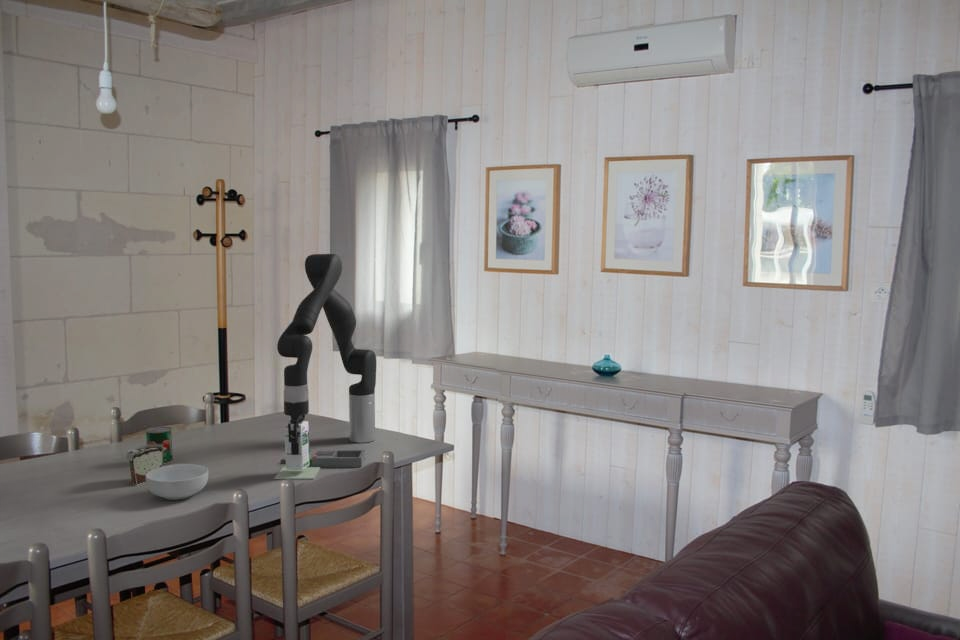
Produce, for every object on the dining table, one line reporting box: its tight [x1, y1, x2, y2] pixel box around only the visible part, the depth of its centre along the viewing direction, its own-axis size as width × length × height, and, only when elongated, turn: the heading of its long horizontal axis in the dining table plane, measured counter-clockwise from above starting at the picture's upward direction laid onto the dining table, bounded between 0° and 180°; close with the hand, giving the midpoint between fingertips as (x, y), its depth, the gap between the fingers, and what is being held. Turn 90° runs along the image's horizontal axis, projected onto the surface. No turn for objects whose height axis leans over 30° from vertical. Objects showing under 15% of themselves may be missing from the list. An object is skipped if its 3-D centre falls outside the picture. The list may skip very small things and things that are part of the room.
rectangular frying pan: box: [279, 449, 366, 468], centre depth 269 cm, size 10×27×3 cm, turn 91°
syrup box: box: [283, 419, 311, 470], centre depth 256 cm, size 6×6×14 cm
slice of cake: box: [125, 444, 165, 486], centre depth 250 cm, size 12×6×10 cm, turn 152°
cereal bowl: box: [145, 463, 209, 501], centre depth 235 cm, size 17×17×7 cm
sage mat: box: [273, 466, 321, 481], centre depth 257 cm, size 12×12×1 cm
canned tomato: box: [145, 426, 174, 465], centre depth 270 cm, size 8×8×11 cm
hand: (297, 451), depth 256 cm, fingers closed on syrup box, 6 cm apart
